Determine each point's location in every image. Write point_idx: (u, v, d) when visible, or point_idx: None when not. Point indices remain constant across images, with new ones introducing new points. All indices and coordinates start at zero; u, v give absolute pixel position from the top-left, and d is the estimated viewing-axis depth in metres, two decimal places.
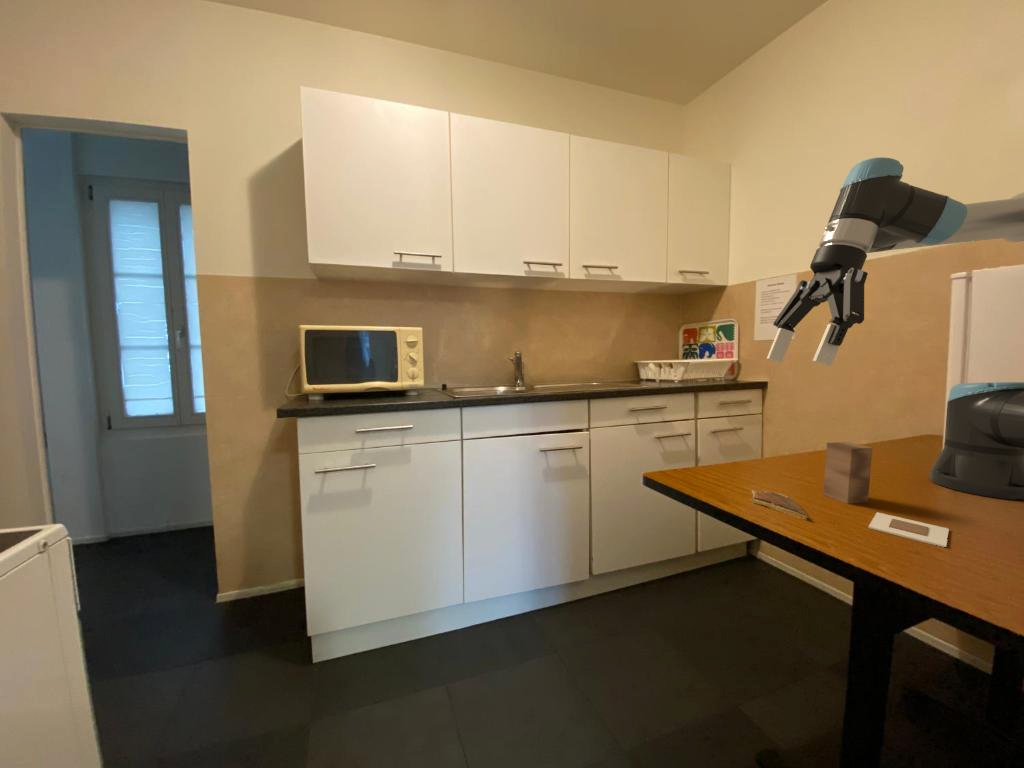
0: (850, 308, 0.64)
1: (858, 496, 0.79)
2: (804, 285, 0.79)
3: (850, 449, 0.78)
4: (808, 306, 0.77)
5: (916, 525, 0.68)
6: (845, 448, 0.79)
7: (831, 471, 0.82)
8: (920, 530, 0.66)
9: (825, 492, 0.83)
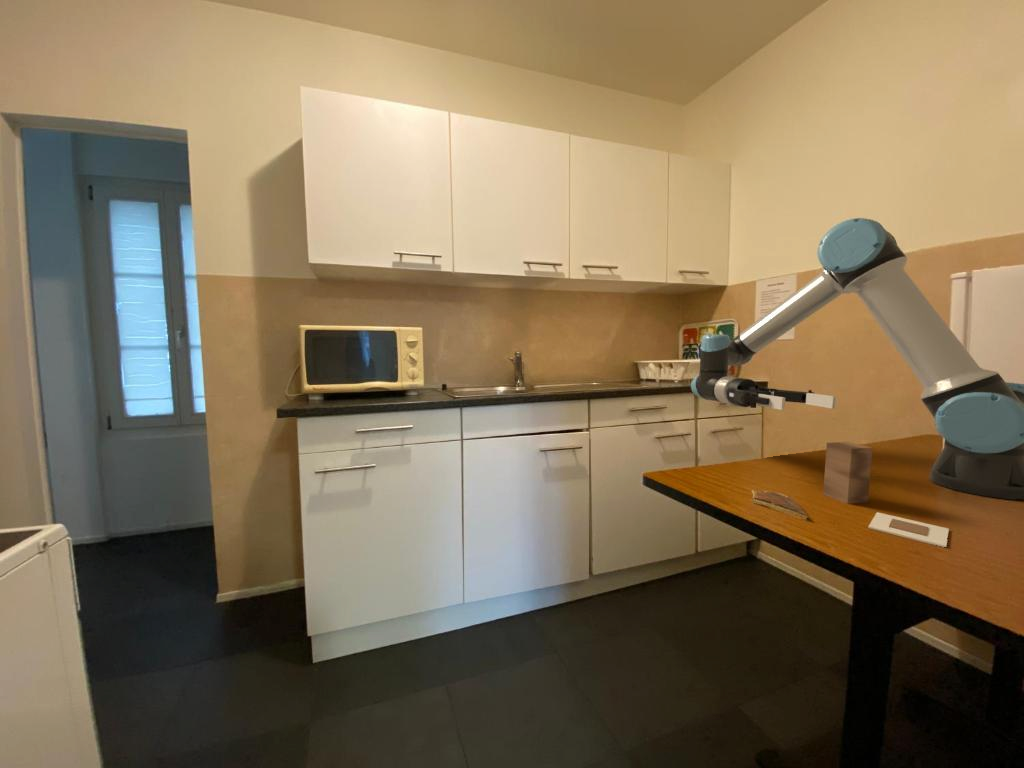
0: (740, 402, 0.96)
1: (858, 496, 0.79)
2: None
3: (850, 449, 0.78)
4: (779, 394, 1.01)
5: (916, 525, 0.68)
6: (845, 448, 0.79)
7: (831, 471, 0.82)
8: (920, 530, 0.66)
9: (825, 492, 0.83)
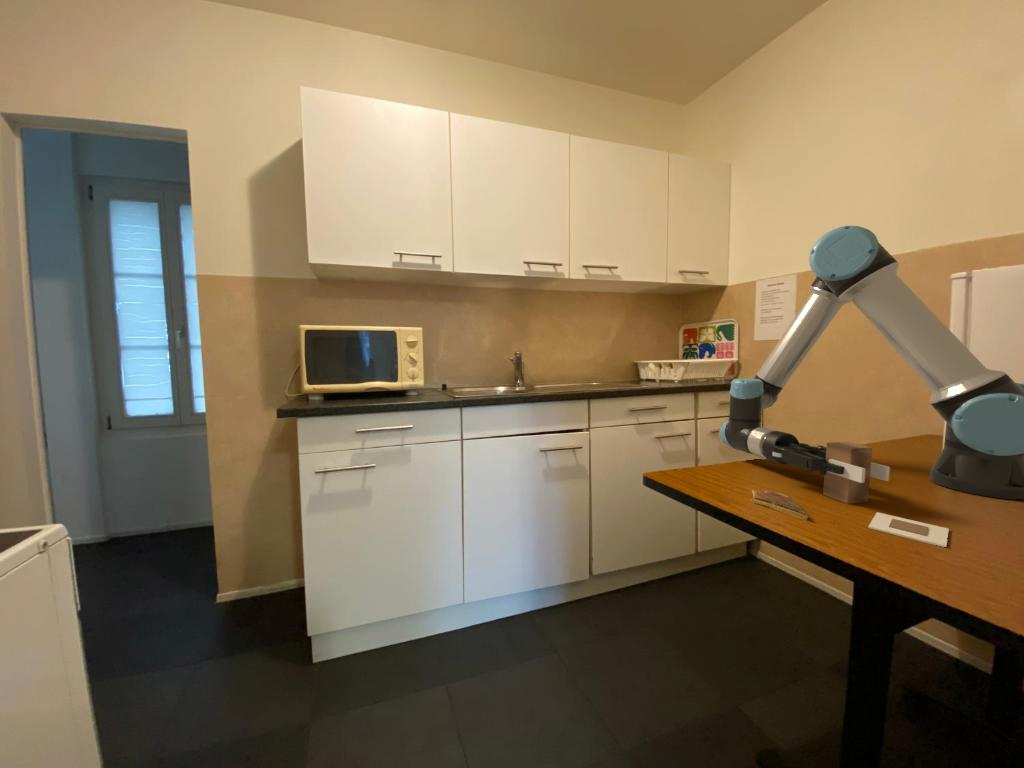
0: (805, 468, 0.84)
1: (858, 496, 0.79)
2: None
3: (850, 449, 0.78)
4: (820, 455, 0.89)
5: (916, 525, 0.68)
6: (845, 448, 0.79)
7: None
8: (920, 530, 0.66)
9: (825, 492, 0.83)
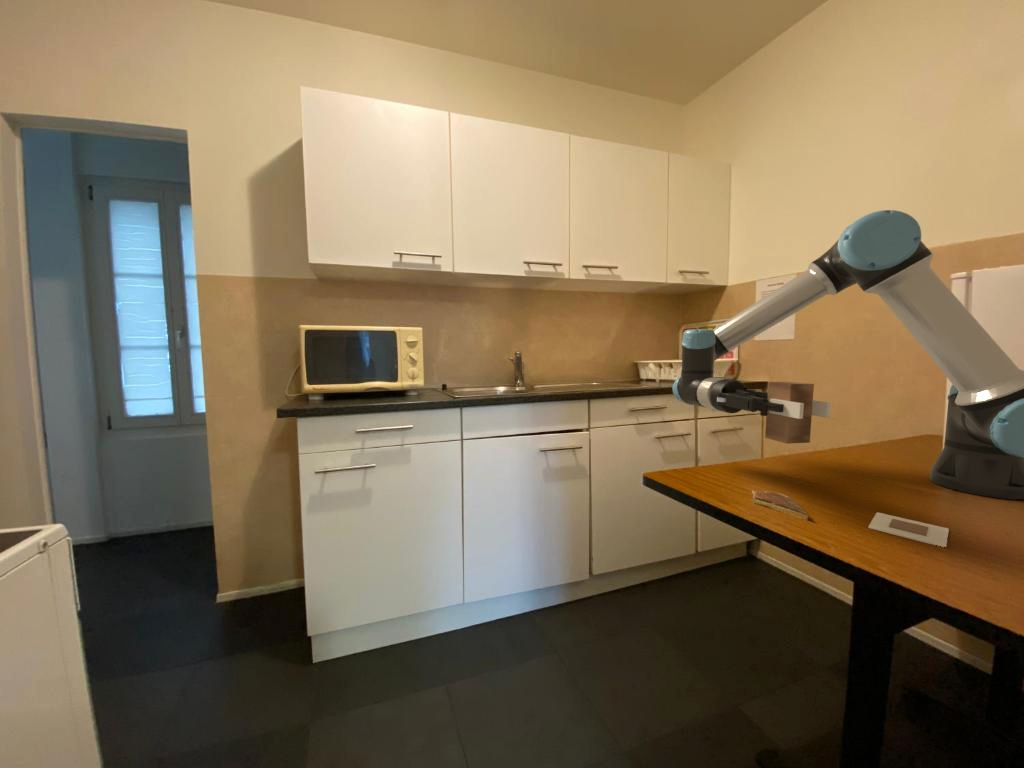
0: (746, 409, 0.79)
1: (799, 436, 0.74)
2: None
3: (789, 385, 0.73)
4: None
5: (916, 525, 0.68)
6: (785, 384, 0.74)
7: None
8: (920, 530, 0.66)
9: (767, 435, 0.78)
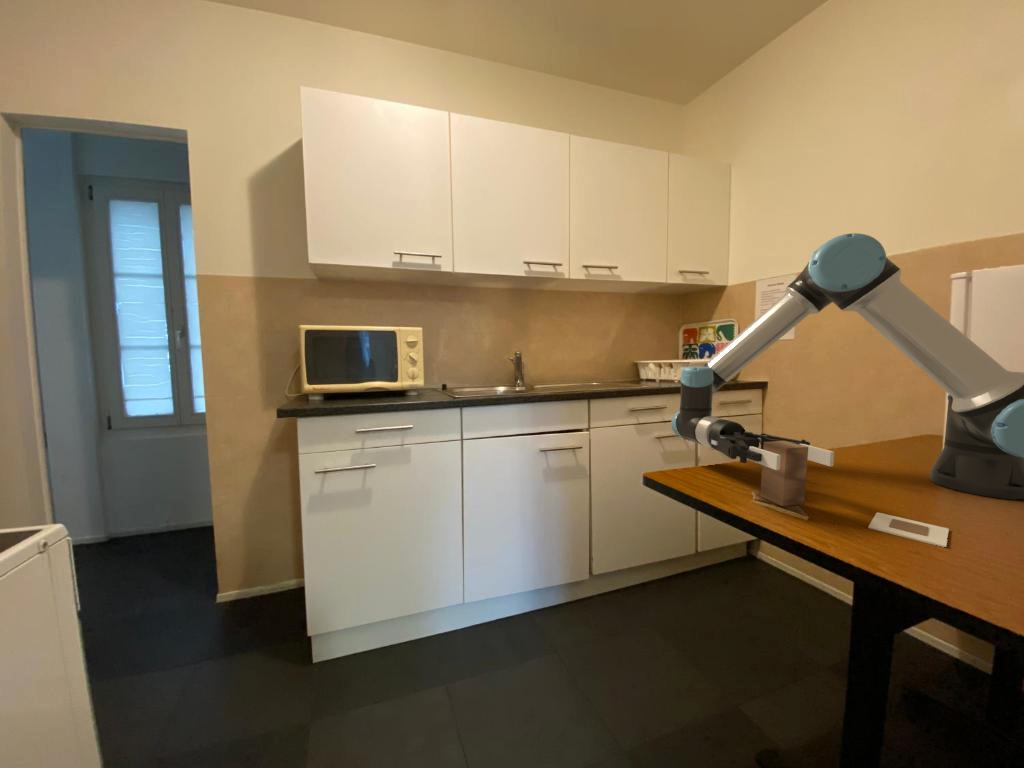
0: (727, 455, 0.80)
1: (794, 498, 0.75)
2: None
3: (785, 449, 0.74)
4: None
5: (916, 525, 0.68)
6: (780, 448, 0.75)
7: (768, 472, 0.78)
8: (920, 530, 0.66)
9: (762, 494, 0.79)
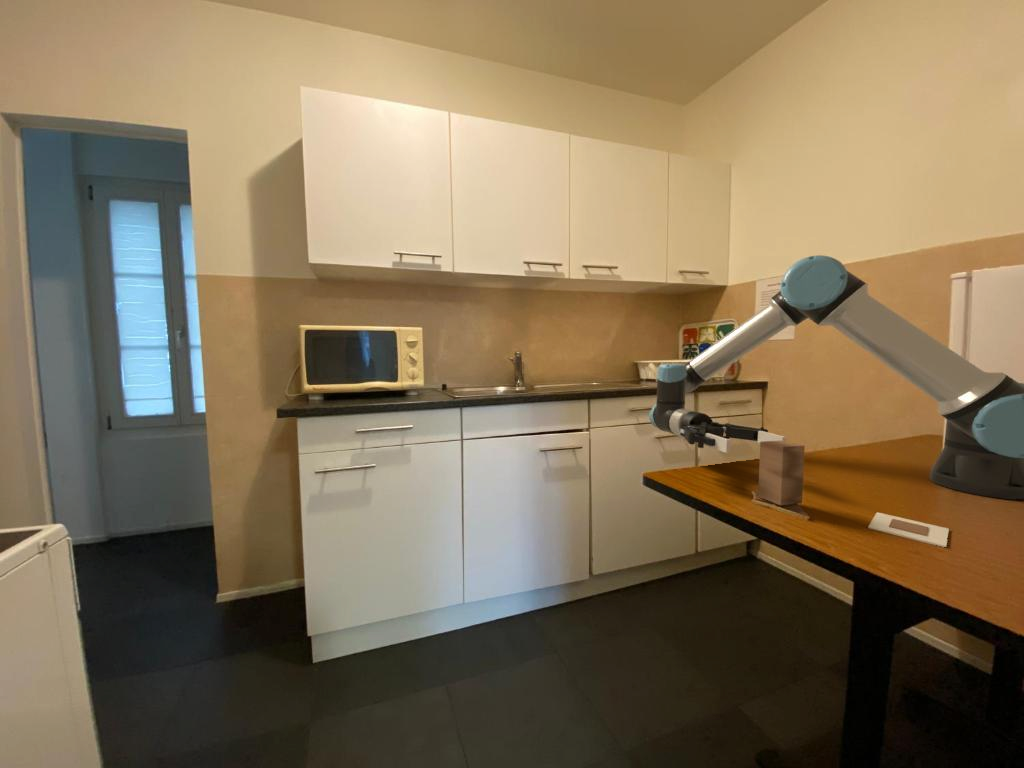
0: (688, 441, 0.91)
1: (792, 497, 0.75)
2: None
3: (782, 447, 0.74)
4: (731, 431, 0.96)
5: (916, 525, 0.68)
6: (777, 446, 0.75)
7: (765, 471, 0.78)
8: (920, 530, 0.66)
9: (760, 494, 0.79)
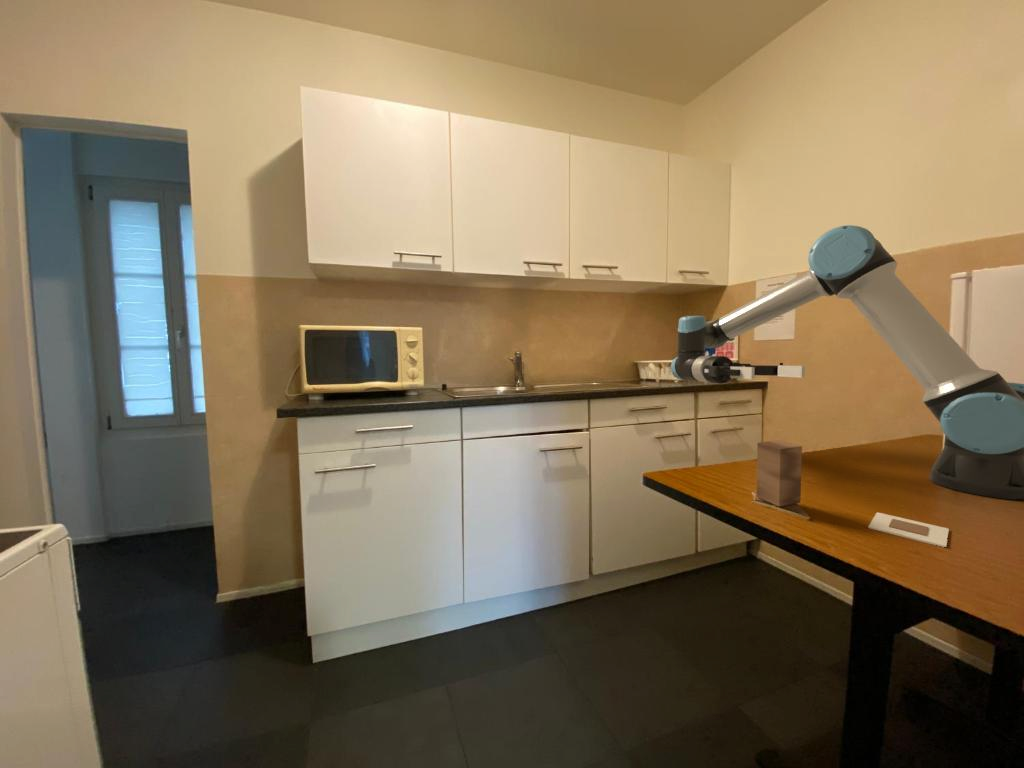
0: (713, 376, 0.98)
1: (790, 497, 0.75)
2: None
3: (779, 449, 0.74)
4: None
5: (916, 525, 0.68)
6: (774, 448, 0.75)
7: (763, 472, 0.78)
8: (920, 530, 0.66)
9: (758, 494, 0.79)
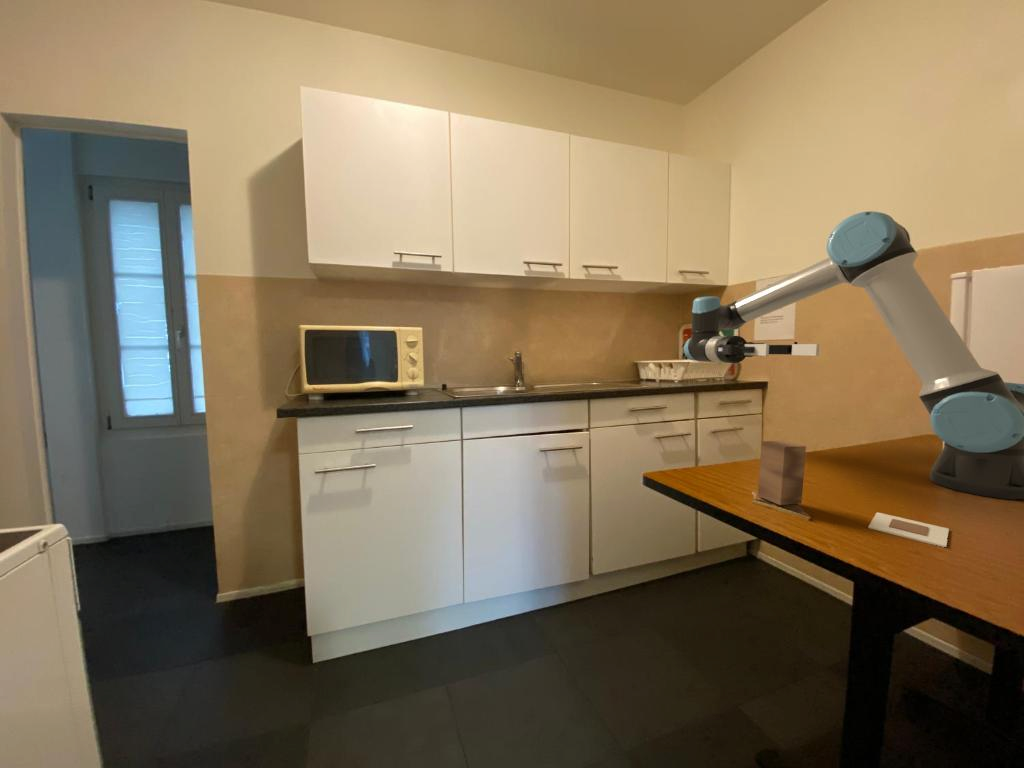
0: (727, 353, 0.99)
1: (791, 497, 0.75)
2: None
3: (783, 447, 0.74)
4: None
5: (916, 525, 0.68)
6: (778, 446, 0.75)
7: (765, 471, 0.78)
8: (920, 530, 0.66)
9: (760, 493, 0.79)
